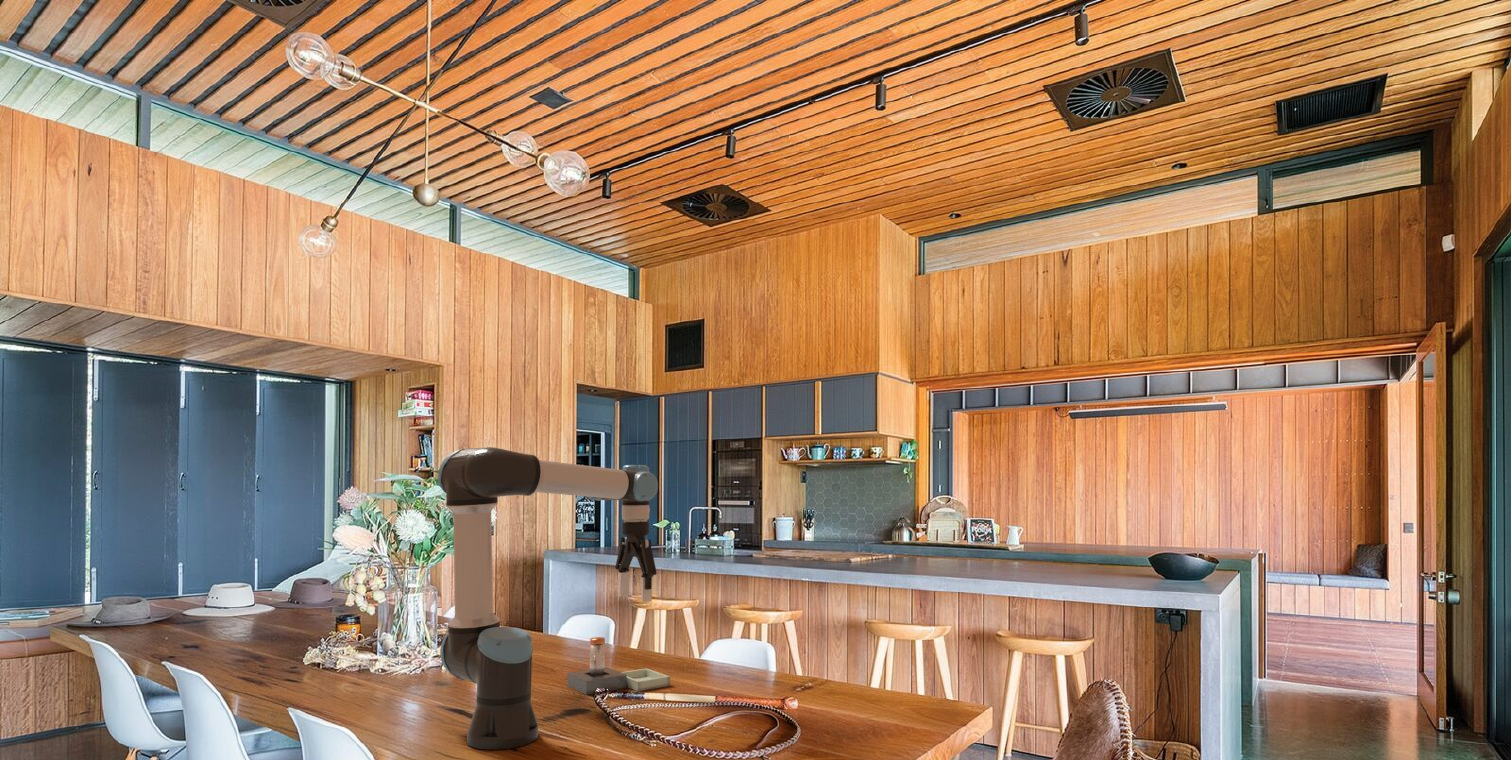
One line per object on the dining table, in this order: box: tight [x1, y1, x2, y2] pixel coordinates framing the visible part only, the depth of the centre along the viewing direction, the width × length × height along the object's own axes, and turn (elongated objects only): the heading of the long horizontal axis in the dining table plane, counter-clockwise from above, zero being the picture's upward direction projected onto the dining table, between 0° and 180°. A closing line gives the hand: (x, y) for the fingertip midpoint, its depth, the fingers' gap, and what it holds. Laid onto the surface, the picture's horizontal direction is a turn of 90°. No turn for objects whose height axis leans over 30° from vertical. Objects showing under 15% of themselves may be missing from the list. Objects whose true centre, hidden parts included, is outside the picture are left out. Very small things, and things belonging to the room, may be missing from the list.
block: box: [566, 666, 628, 695], centre depth 234 cm, size 12×12×4 cm
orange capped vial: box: [589, 636, 606, 677], centre depth 234 cm, size 4×4×13 cm
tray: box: [621, 668, 671, 692], centre depth 236 cm, size 10×13×2 cm
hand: (635, 598), depth 233 cm, fingers open, 13 cm apart
